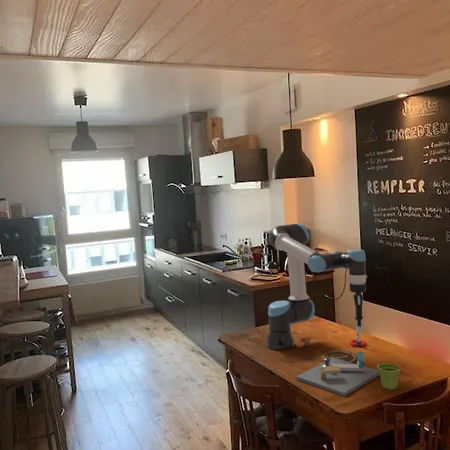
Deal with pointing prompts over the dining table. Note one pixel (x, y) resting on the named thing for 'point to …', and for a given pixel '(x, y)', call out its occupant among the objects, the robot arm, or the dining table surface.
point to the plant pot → (389, 375)
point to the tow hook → (357, 341)
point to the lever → (348, 367)
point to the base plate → (338, 378)
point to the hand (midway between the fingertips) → (359, 332)
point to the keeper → (328, 371)
